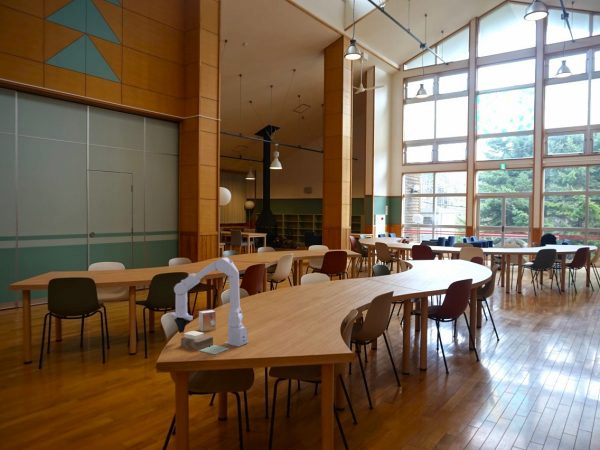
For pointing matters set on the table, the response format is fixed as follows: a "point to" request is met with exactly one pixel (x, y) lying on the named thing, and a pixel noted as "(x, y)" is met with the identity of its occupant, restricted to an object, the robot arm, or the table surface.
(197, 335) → the white rectangular block
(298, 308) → the table surface
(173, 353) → the table surface
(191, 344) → the deck
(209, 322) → the small box
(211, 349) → the mat
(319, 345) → the table surface
